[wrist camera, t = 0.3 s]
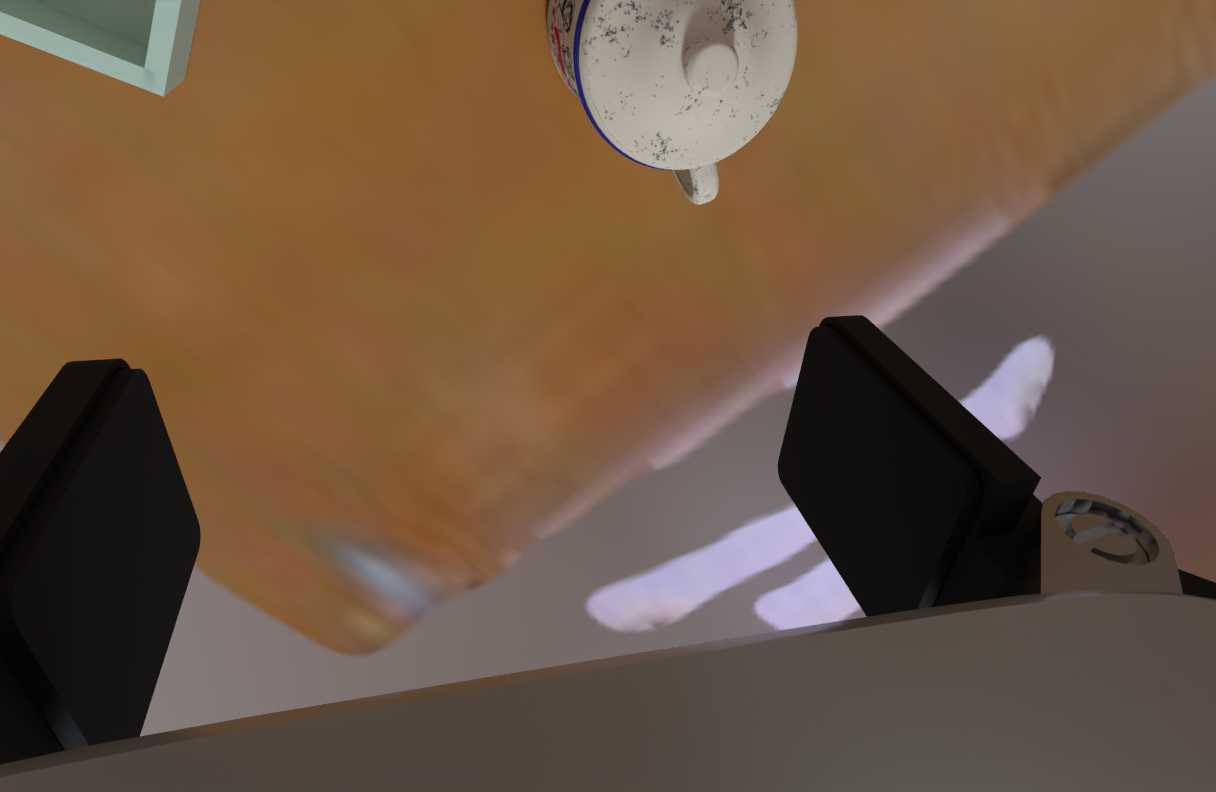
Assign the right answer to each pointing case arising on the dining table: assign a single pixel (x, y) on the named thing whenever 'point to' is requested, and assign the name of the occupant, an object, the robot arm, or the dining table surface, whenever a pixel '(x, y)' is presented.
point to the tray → (110, 35)
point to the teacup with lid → (676, 76)
